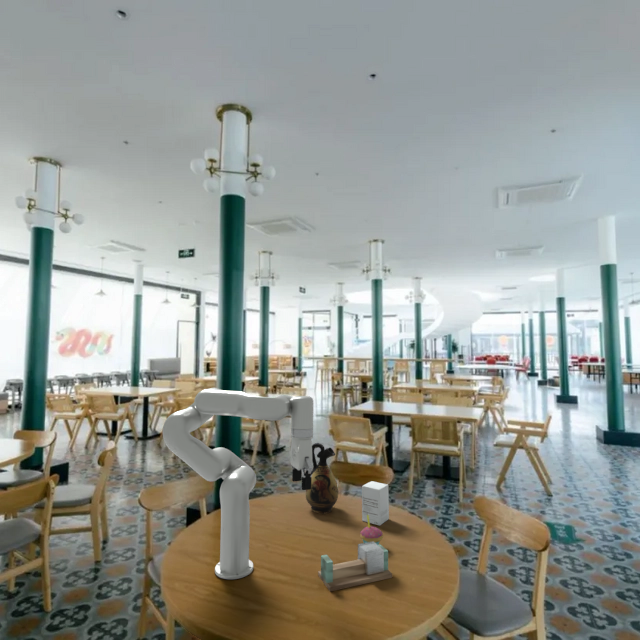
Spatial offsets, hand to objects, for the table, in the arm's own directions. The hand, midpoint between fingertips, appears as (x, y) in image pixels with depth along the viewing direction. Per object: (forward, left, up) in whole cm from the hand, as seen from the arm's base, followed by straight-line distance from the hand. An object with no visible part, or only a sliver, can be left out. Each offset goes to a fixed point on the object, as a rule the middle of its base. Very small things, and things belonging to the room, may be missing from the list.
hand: (301, 485), depth 138 cm
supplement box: (-30, +45, -28) cm, 61 cm away
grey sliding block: (+8, +22, -27) cm, 35 cm away
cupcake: (-8, +31, -28) cm, 43 cm away
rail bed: (+8, +16, -28) cm, 33 cm away
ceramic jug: (-50, +27, -28) cm, 64 cm away
